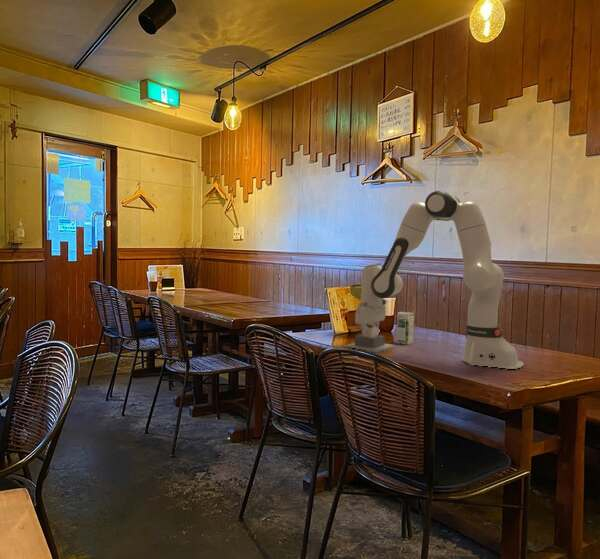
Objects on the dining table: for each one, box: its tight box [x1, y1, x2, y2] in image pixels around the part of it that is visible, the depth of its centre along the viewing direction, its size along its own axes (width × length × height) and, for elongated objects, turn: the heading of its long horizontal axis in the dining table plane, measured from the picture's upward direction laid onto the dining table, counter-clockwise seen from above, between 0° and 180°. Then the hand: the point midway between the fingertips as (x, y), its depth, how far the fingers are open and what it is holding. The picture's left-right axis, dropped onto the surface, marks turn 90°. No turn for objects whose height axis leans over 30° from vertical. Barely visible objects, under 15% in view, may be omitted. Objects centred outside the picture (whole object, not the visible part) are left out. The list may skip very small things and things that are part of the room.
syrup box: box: [396, 311, 415, 346], centre depth 231 cm, size 6×6×14 cm
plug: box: [363, 324, 378, 338], centre depth 220 cm, size 4×4×9 cm
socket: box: [344, 333, 396, 353], centre depth 220 cm, size 16×16×5 cm
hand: (370, 332), depth 220 cm, fingers open, 8 cm apart
